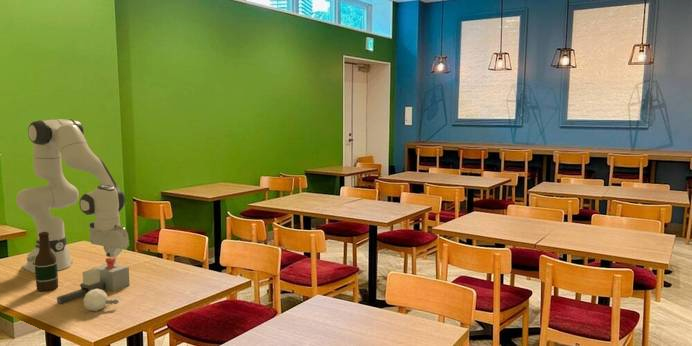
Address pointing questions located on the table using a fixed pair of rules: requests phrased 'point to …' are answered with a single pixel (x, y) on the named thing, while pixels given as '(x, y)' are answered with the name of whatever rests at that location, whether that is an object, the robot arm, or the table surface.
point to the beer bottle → (45, 266)
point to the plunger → (110, 262)
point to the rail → (73, 295)
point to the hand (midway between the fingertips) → (110, 256)
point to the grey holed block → (114, 276)
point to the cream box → (91, 280)
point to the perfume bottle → (97, 300)
